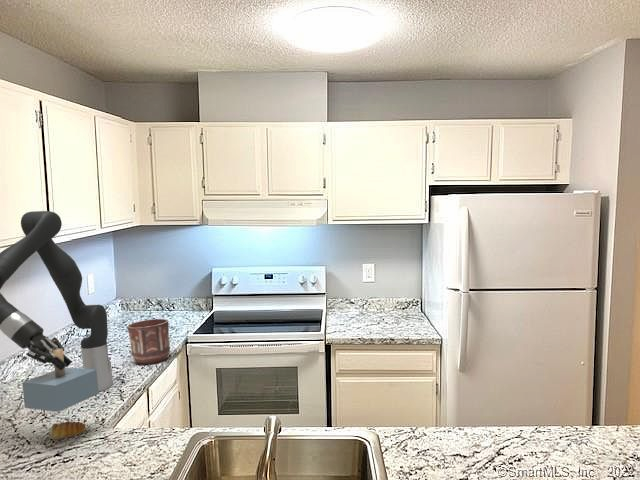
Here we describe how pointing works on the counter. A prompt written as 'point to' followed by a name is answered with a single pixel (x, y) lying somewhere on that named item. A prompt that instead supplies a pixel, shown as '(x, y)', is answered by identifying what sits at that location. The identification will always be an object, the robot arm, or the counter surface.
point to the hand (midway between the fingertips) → (66, 365)
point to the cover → (60, 387)
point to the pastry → (66, 429)
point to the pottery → (149, 340)
